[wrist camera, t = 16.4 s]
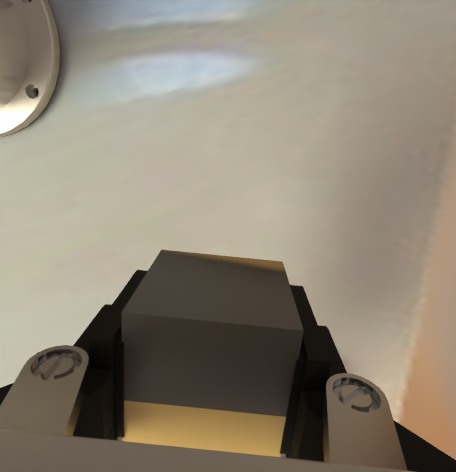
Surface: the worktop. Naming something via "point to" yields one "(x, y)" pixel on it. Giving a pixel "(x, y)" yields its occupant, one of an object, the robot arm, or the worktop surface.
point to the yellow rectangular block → (210, 353)
